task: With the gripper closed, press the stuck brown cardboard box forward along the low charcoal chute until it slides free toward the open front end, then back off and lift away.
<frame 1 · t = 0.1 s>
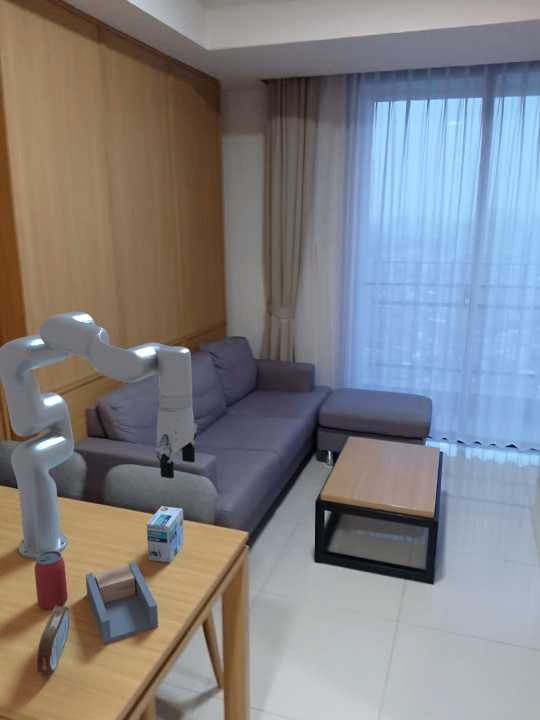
hand: (178, 469, 133), 31 cm above the table, tool pointing down, fingers open, 9 cm apart
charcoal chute: (121, 609, 131), on the table
tin: (56, 656, 117), on the table
beer can: (53, 603, 133), on the table
brown cardboard box: (114, 584, 135), point 3 cm above the table, slide at 0.0 cm
light bulb box: (166, 551, 155), on the table
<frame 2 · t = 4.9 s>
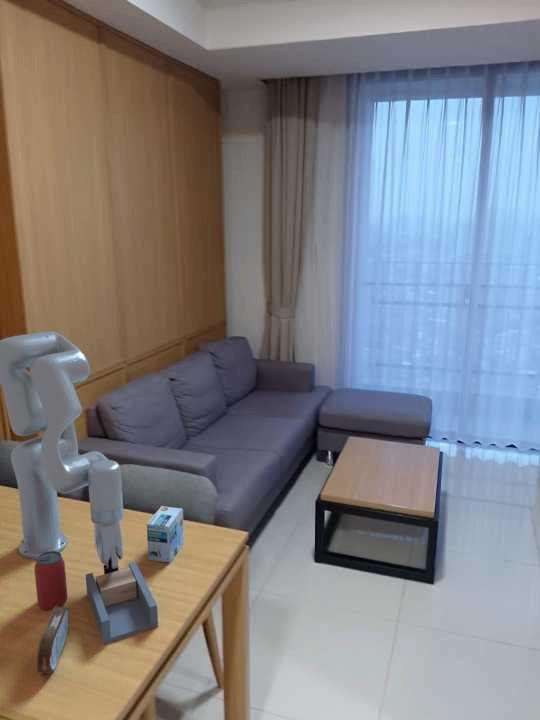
hand: (111, 579, 138), 2 cm above the table, tool pointing down, fingers closed
brown cardboard box: (116, 587, 133), point 3 cm above the table, slide at 1.3 cm, touching gripper
everything else where it was.
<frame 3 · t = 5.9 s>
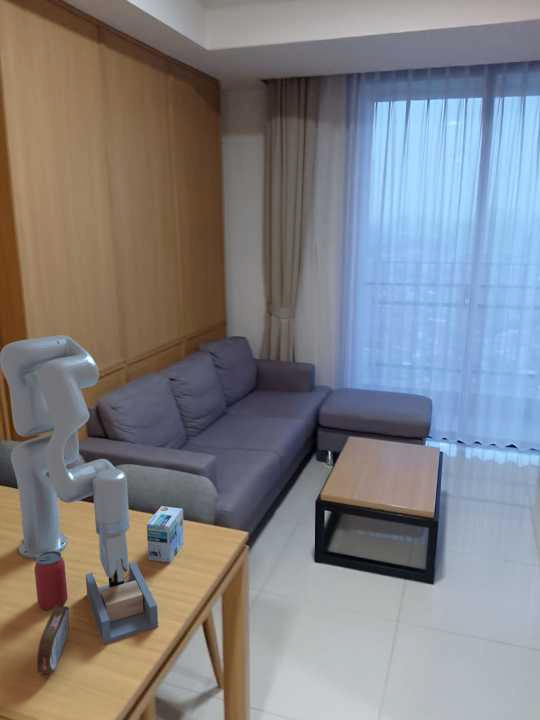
hand: (117, 592, 133), 2 cm above the table, tool pointing down, fingers closed
brown cardboard box: (121, 601, 128), point 3 cm above the table, slide at 7.1 cm, touching gripper
everything else where it was.
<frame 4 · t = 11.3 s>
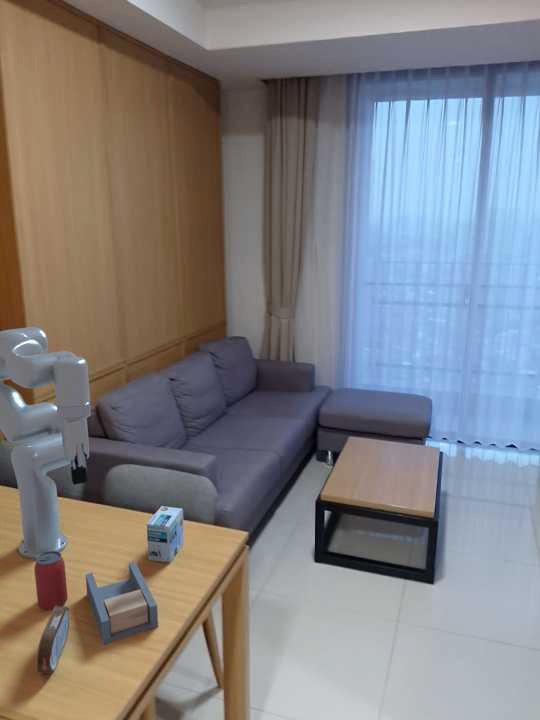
hand: (79, 482, 135), 27 cm above the table, tool pointing down, fingers closed
brown cardboard box: (126, 610, 125), point 3 cm above the table, slide at 11.0 cm
everything else where it was.
at the end: brown cardboard box slide at 11.0 cm; tin moved 0.3 cm from its start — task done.
